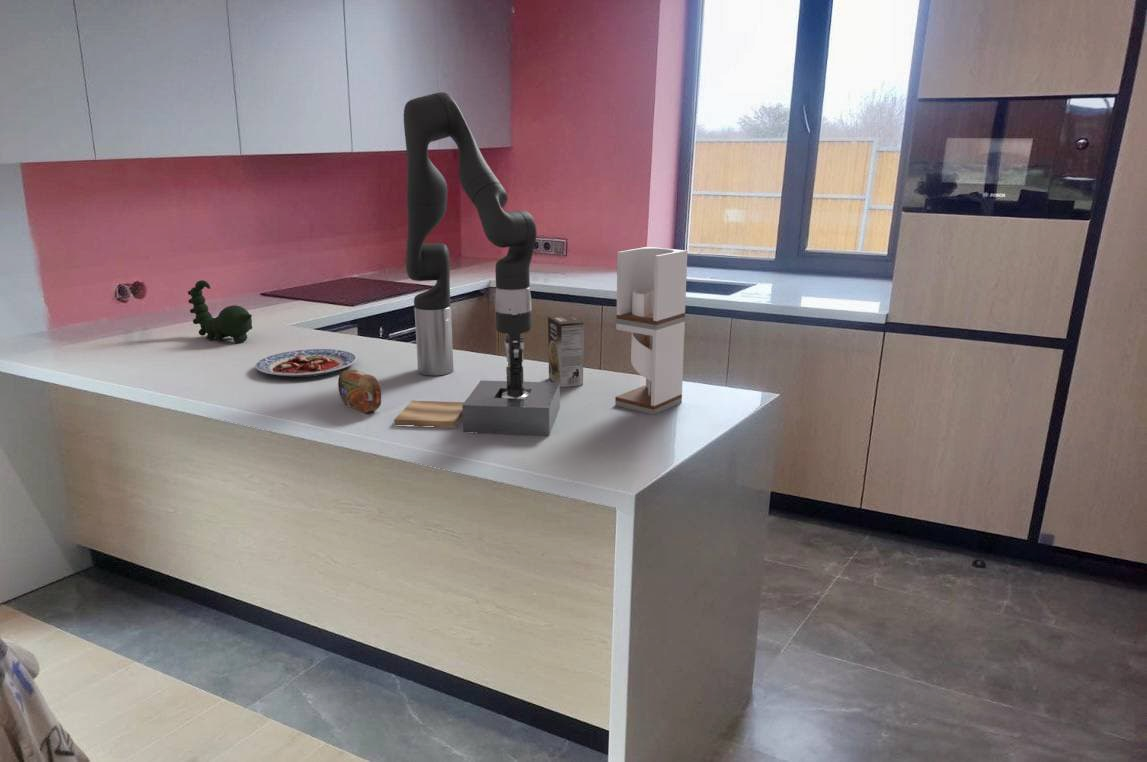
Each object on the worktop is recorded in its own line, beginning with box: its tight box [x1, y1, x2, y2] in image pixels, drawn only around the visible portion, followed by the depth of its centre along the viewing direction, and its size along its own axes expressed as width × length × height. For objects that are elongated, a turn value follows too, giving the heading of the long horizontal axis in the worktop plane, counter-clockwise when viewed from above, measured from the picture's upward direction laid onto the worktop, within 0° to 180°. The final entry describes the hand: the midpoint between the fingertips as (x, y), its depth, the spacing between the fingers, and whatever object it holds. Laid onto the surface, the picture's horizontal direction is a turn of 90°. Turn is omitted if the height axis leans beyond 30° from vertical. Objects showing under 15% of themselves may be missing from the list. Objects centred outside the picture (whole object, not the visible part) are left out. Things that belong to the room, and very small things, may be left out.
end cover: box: [502, 365, 529, 399], centre depth 174 cm, size 6×6×9 cm
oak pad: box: [393, 400, 465, 429], centre depth 178 cm, size 13×13×2 cm
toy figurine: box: [187, 279, 253, 344], centre depth 244 cm, size 9×19×25 cm
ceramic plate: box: [255, 348, 358, 378], centre depth 216 cm, size 26×26×3 cm
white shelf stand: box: [614, 246, 688, 416], centre depth 182 cm, size 11×11×35 cm
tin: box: [337, 369, 382, 414], centre depth 183 cm, size 15×3×8 cm, turn 45°
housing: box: [462, 379, 561, 436], centre depth 175 cm, size 18×18×6 cm
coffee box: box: [547, 314, 585, 388], centre depth 202 cm, size 9×6×16 cm
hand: (515, 386), depth 174 cm, fingers closed on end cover, 3 cm apart
